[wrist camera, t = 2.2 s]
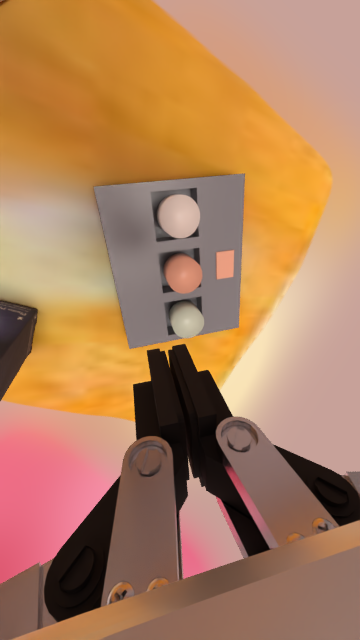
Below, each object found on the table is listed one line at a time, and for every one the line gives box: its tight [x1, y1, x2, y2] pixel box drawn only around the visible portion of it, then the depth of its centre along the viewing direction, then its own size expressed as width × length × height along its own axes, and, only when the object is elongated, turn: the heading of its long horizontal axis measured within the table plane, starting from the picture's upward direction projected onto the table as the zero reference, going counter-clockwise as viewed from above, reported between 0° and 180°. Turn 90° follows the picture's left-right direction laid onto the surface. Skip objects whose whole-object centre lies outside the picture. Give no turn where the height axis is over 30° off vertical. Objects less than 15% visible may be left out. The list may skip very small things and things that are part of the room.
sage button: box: [169, 301, 204, 338], centre depth 28 cm, size 4×4×2 cm
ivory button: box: [157, 195, 200, 238], centre depth 22 cm, size 4×4×2 cm
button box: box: [94, 174, 245, 349], centre depth 27 cm, size 17×14×3 cm
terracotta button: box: [163, 253, 202, 294], centre depth 25 cm, size 4×4×2 cm
